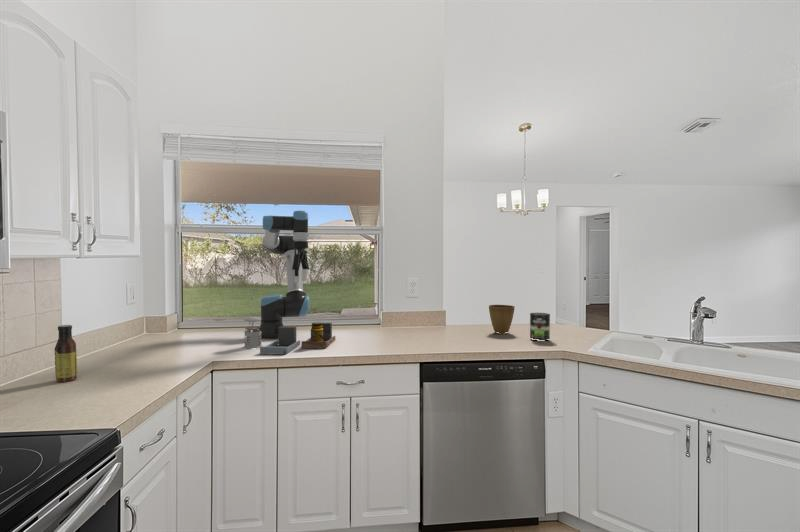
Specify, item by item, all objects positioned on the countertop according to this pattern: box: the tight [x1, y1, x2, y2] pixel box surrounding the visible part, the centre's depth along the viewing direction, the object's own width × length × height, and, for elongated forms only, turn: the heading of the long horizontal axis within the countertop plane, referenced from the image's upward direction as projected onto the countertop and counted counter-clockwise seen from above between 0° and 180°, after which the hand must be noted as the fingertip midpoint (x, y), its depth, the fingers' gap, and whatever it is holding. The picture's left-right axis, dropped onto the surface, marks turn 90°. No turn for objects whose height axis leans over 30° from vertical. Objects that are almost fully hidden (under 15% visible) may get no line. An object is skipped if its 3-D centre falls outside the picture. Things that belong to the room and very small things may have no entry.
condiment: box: [310, 322, 323, 341], centre depth 214 cm, size 7×8×12 cm
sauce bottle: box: [54, 324, 78, 383], centre depth 155 cm, size 7×6×20 cm
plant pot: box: [488, 304, 515, 333], centre depth 254 cm, size 15×15×16 cm
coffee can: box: [529, 312, 551, 340], centre depth 233 cm, size 10×10×14 cm
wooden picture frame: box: [300, 322, 336, 349], centre depth 221 cm, size 22×12×9 cm, turn 176°
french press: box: [242, 296, 263, 350], centre depth 214 cm, size 10×12×25 cm
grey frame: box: [259, 325, 301, 355], centre depth 208 cm, size 22×12×9 cm, turn 176°
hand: (300, 282), depth 224 cm, fingers open, 13 cm apart
